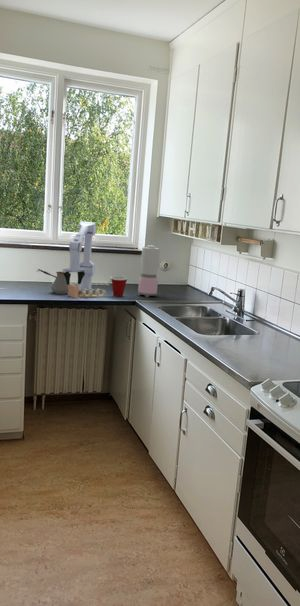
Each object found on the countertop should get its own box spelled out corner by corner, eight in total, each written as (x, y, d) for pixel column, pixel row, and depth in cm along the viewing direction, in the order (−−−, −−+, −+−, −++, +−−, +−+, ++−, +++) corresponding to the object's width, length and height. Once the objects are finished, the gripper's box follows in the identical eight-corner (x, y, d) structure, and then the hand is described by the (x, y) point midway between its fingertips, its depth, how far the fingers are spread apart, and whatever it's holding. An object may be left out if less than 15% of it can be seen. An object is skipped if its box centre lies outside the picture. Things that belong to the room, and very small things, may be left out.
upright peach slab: (67, 295, 306) (68, 284, 304) (71, 295, 307) (72, 284, 306) (74, 298, 300) (75, 286, 298) (78, 298, 301) (78, 286, 300)
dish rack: (74, 294, 310) (74, 288, 309) (97, 293, 321) (98, 287, 320) (83, 298, 302) (83, 292, 301) (107, 296, 312) (107, 291, 311)
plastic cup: (105, 295, 315) (107, 276, 313) (114, 293, 325) (116, 275, 322) (120, 298, 310) (122, 279, 308) (129, 296, 320) (131, 277, 318)
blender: (149, 298, 319) (153, 247, 313) (133, 294, 326) (137, 244, 319) (162, 295, 332) (167, 246, 326) (147, 292, 339) (151, 244, 332)
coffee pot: (65, 291, 319) (66, 267, 316) (73, 294, 310) (74, 270, 307) (32, 292, 307) (33, 267, 304) (40, 295, 298) (41, 270, 295)
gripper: (67, 262, 292) (66, 285, 294) (89, 262, 301) (87, 285, 303) (61, 260, 297) (60, 283, 300) (82, 260, 306) (81, 283, 309)
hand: (73, 284), depth 302 cm, fingers open, 7 cm apart
